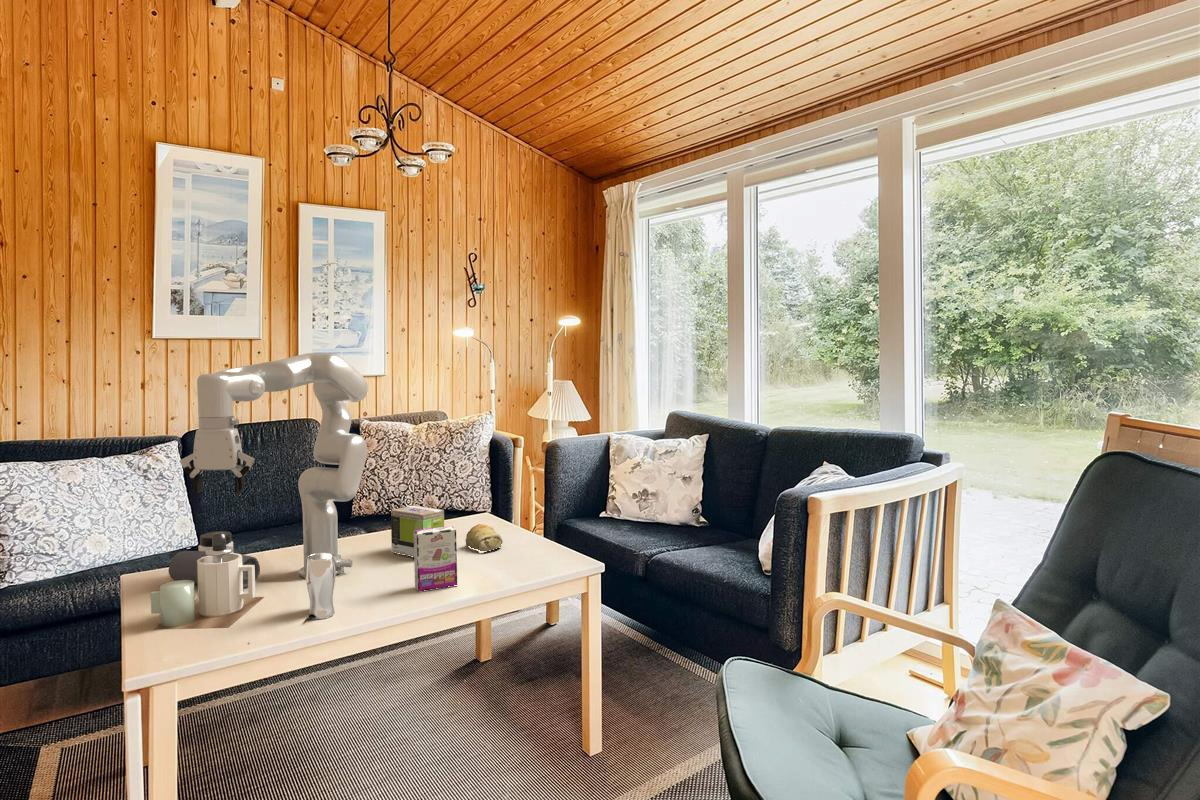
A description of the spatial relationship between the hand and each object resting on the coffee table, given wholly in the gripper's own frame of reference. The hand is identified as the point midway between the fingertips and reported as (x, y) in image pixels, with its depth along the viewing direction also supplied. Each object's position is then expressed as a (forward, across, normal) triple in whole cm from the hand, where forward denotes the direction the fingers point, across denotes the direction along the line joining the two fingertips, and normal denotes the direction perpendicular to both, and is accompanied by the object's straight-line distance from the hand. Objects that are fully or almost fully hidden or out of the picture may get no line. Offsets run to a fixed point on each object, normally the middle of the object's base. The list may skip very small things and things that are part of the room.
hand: (218, 492), depth 173 cm
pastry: (+32, -60, -57) cm, 89 cm away
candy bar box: (+31, -50, -17) cm, 61 cm away
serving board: (+31, +2, +2) cm, 31 cm away
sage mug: (+29, +8, +8) cm, 32 cm away
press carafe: (+30, -1, +1) cm, 30 cm away
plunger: (+27, 0, +1) cm, 27 cm away
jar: (+31, +16, -32) cm, 48 cm away
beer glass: (+31, -25, +3) cm, 40 cm away
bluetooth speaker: (+31, +11, -20) cm, 39 cm away
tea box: (+32, -39, -51) cm, 72 cm away
